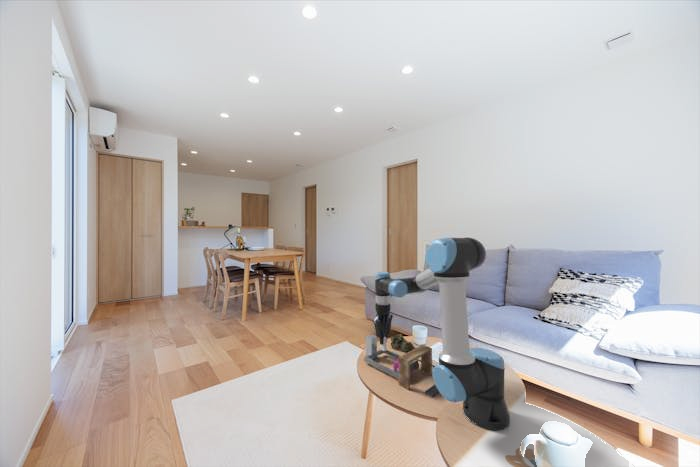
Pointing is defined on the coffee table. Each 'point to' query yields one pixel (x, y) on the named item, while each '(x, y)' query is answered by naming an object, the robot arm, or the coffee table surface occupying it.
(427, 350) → the tunnel
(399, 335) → the rock
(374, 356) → the sled
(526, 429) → the coffee table surface
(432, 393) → the pit tray
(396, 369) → the puzzle toy
